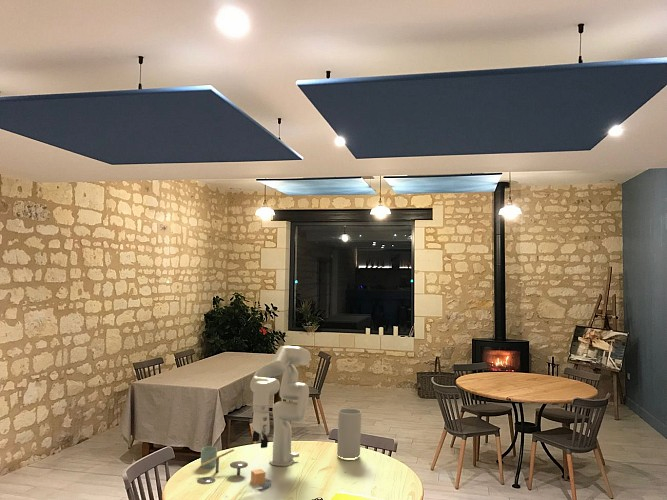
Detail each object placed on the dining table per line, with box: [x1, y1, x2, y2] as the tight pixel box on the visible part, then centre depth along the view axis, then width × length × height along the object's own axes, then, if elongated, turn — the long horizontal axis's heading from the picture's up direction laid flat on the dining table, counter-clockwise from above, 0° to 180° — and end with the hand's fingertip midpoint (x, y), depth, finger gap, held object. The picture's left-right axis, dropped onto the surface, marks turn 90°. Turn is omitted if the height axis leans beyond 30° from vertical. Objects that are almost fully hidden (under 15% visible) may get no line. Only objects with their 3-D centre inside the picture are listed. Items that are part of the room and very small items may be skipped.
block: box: [250, 468, 266, 486], centre depth 248 cm, size 5×5×5 cm
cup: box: [200, 445, 218, 469], centre depth 266 cm, size 8×8×10 cm
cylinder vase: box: [336, 407, 362, 458], centre depth 291 cm, size 12×12×25 cm
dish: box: [256, 477, 272, 491], centre depth 248 cm, size 12×12×1 cm
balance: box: [196, 448, 249, 485], centre depth 254 cm, size 24×14×11 cm, turn 122°
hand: (259, 444), depth 249 cm, fingers open, 9 cm apart
